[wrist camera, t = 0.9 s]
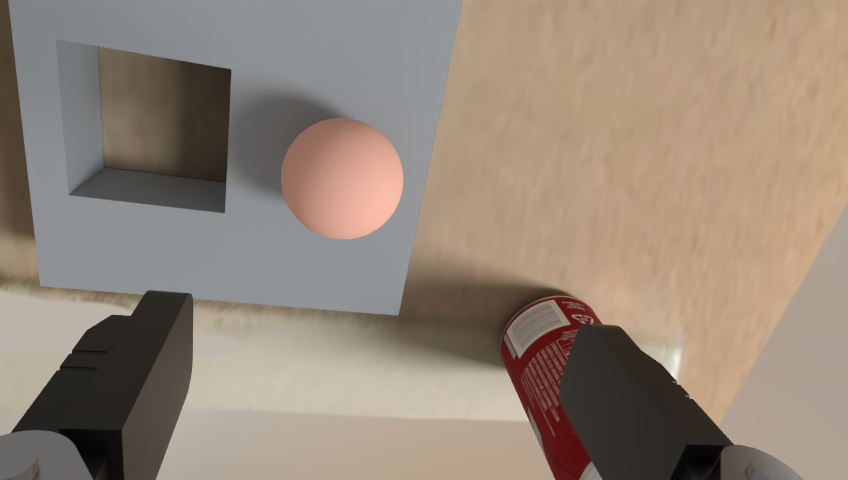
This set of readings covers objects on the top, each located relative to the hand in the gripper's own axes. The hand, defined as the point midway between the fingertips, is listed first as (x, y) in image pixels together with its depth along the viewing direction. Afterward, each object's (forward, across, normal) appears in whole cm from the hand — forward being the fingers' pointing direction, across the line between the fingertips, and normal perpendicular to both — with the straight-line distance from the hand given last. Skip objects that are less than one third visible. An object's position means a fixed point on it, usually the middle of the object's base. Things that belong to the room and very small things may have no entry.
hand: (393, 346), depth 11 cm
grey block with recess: (+19, +5, 0) cm, 20 cm away
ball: (+12, +1, 0) cm, 12 cm away
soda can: (+19, -14, +11) cm, 27 cm away
